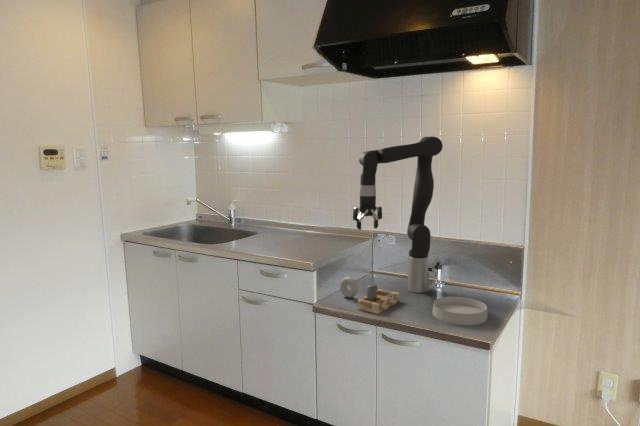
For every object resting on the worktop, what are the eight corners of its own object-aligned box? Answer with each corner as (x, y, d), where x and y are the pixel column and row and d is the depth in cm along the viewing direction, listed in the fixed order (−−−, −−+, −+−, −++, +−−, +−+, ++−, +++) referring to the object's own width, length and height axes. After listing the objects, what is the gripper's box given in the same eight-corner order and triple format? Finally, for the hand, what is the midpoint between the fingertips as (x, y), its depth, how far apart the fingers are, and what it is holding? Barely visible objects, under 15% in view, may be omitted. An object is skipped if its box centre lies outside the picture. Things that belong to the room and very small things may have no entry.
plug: (373, 305, 210) (374, 283, 208) (378, 308, 205) (378, 286, 204) (365, 306, 208) (365, 284, 206) (369, 309, 204) (369, 287, 202)
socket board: (379, 297, 221) (379, 288, 220) (398, 301, 215) (399, 292, 214) (357, 309, 205) (357, 299, 204) (378, 313, 199) (378, 304, 198)
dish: (446, 303, 212) (446, 293, 211) (495, 314, 198) (495, 303, 197) (423, 317, 195) (423, 306, 194) (475, 330, 181) (475, 318, 181)
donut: (359, 298, 219) (359, 278, 217) (355, 300, 216) (355, 279, 215) (342, 294, 225) (342, 274, 224) (338, 296, 222) (338, 276, 221)
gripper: (357, 196, 212) (357, 231, 215) (385, 194, 218) (384, 229, 220) (350, 194, 219) (350, 228, 221) (377, 193, 224) (376, 226, 227)
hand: (367, 228), depth 221 cm, fingers open, 8 cm apart
